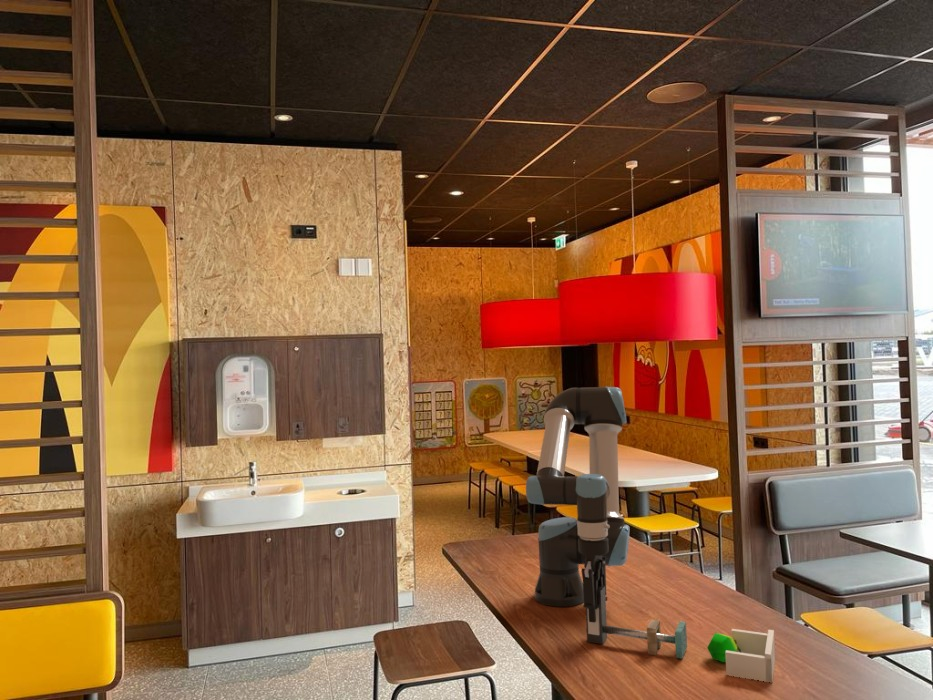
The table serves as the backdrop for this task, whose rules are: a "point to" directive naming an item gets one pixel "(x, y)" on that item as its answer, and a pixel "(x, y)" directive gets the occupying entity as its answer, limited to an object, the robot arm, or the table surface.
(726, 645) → the apple
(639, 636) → the piston
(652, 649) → the bearing block
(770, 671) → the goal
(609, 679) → the table surface
